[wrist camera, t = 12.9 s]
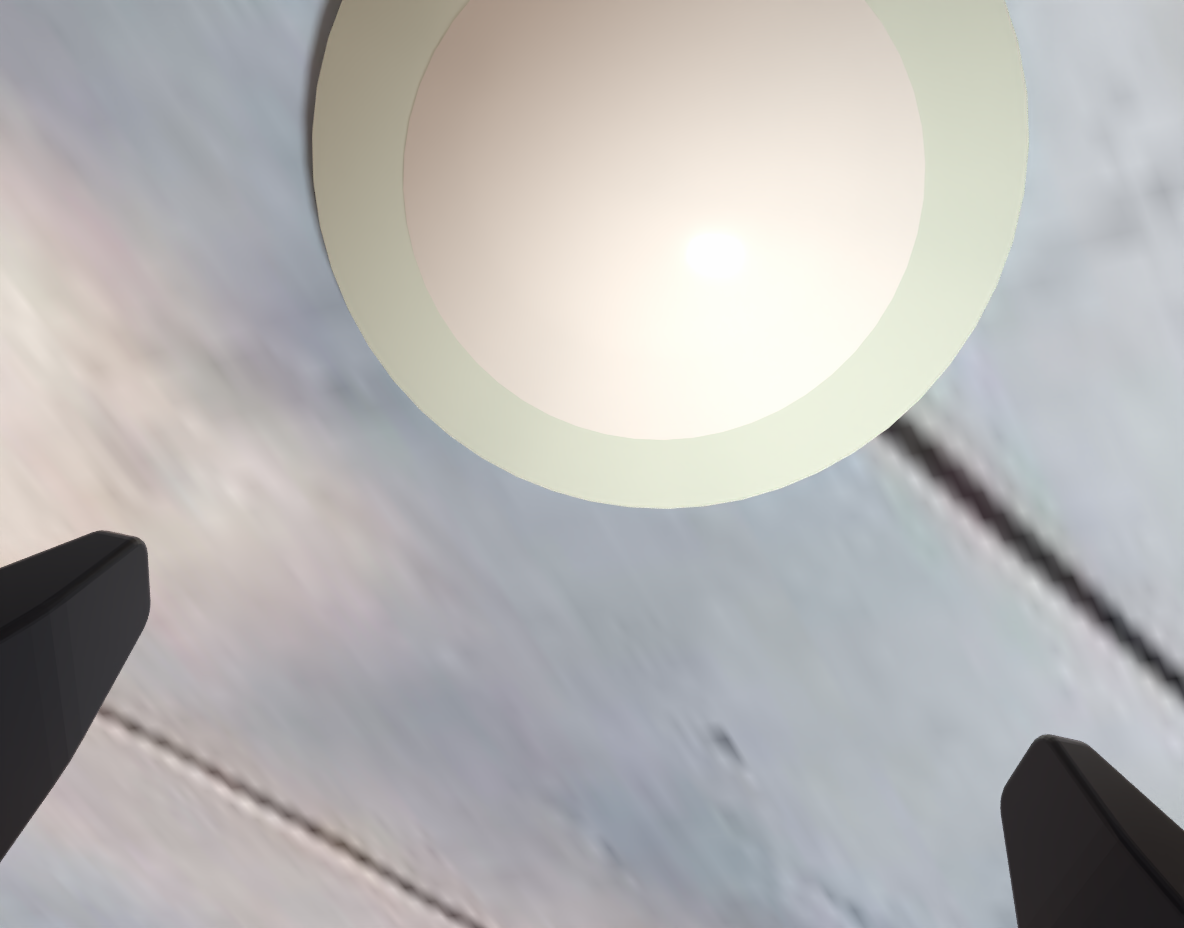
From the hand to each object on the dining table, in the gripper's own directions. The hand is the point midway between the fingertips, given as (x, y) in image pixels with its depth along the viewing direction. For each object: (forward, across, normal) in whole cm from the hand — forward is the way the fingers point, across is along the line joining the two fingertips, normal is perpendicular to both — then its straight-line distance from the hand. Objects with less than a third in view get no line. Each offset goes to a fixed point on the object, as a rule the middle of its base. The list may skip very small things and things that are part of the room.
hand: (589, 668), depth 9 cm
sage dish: (+13, 0, -2) cm, 13 cm away
